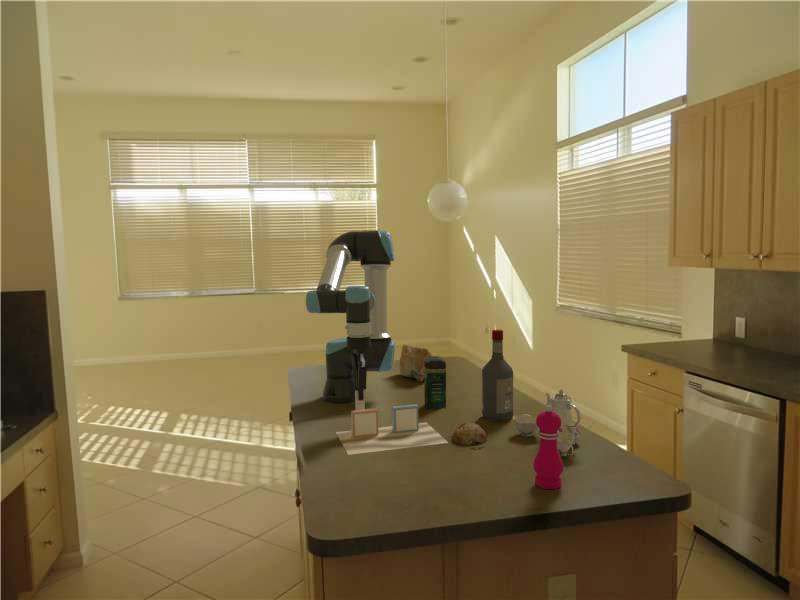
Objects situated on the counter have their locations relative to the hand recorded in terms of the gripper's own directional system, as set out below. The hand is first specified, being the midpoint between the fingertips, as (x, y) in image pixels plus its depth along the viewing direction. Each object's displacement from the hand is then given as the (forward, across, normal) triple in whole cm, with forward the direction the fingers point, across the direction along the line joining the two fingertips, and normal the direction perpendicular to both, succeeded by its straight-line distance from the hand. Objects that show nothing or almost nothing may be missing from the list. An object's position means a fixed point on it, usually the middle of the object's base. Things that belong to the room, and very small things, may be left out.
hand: (360, 409), depth 180 cm
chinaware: (+8, +27, +52) cm, 59 cm away
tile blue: (+7, +6, +13) cm, 16 cm away
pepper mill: (+8, +52, +36) cm, 64 cm away
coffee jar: (+8, -19, +32) cm, 38 cm away
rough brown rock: (+8, -63, +42) cm, 76 cm away
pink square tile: (+7, +6, 0) cm, 9 cm away
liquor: (+8, -1, +48) cm, 49 cm away
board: (+8, +10, +7) cm, 14 cm away
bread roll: (+8, +18, +29) cm, 35 cm away
